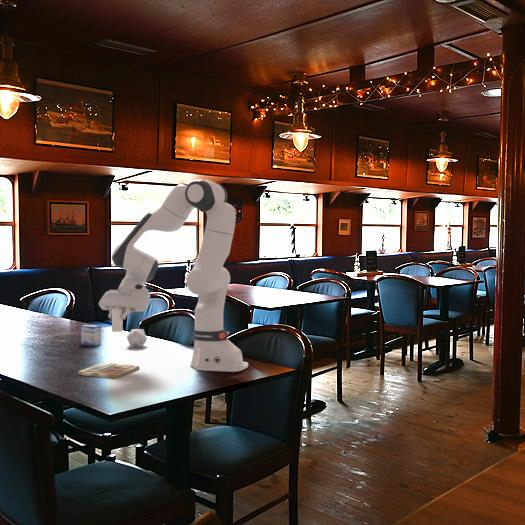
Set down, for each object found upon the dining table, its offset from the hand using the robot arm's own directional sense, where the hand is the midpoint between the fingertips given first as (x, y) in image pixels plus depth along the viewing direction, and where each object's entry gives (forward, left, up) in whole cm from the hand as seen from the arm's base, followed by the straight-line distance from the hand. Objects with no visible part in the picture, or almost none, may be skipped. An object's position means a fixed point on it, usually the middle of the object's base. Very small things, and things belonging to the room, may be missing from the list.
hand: (116, 317), depth 245 cm
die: (+11, -34, -18) cm, 41 cm away
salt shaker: (0, -1, -5) cm, 5 cm away
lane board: (-5, +13, -18) cm, 23 cm away
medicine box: (+33, -31, -18) cm, 49 cm away
